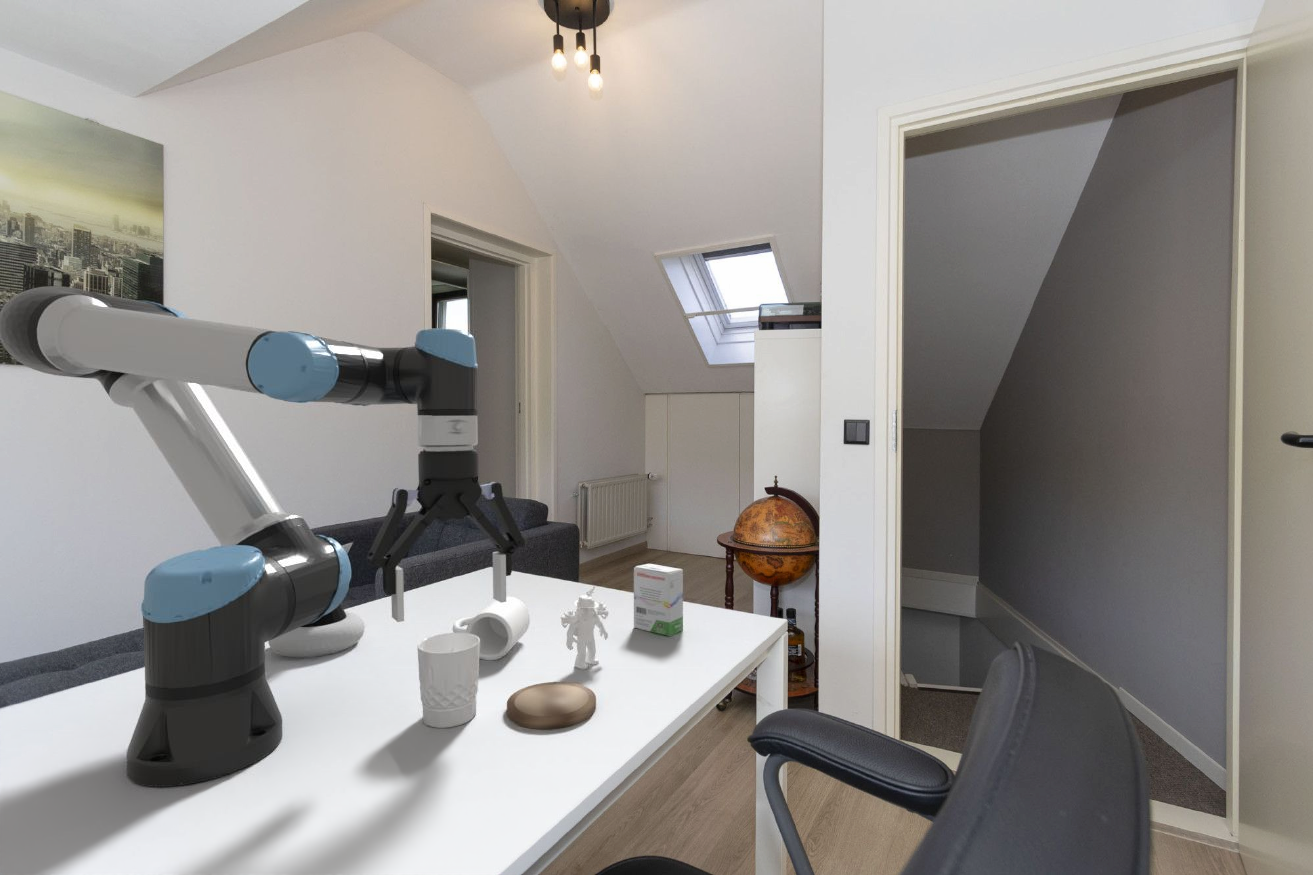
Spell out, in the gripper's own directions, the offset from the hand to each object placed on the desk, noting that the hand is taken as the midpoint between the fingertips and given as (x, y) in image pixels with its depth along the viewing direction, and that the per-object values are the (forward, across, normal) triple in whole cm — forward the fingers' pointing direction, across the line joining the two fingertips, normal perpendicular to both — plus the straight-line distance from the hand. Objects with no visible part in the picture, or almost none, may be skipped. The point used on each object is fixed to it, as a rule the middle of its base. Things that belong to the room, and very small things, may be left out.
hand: (451, 609), depth 86 cm
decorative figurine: (+14, -9, +40) cm, 44 cm away
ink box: (+15, +44, +12) cm, 48 cm away
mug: (+15, +14, +21) cm, 29 cm away
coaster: (+14, +12, -6) cm, 19 cm away
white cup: (+15, 0, 0) cm, 15 cm away
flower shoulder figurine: (+15, +24, +5) cm, 28 cm away
